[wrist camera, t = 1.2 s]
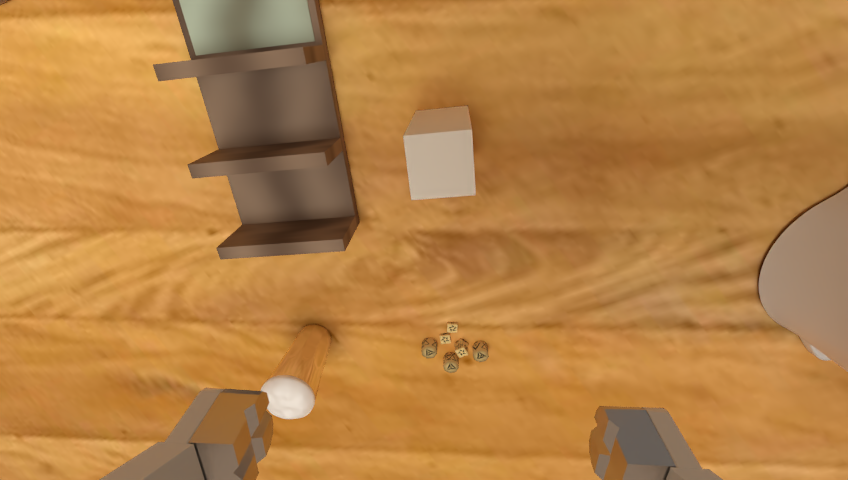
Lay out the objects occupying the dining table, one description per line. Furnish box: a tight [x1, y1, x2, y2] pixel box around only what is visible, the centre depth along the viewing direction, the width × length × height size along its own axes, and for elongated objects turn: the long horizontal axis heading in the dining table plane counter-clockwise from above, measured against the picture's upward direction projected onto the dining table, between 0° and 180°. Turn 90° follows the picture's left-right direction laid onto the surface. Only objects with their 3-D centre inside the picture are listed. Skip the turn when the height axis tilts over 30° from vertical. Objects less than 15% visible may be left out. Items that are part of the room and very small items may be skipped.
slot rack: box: [153, 0, 359, 259], centre depth 31 cm, size 10×21×6 cm, turn 6°
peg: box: [403, 106, 476, 200], centre depth 30 cm, size 4×4×9 cm
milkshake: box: [261, 324, 331, 419], centre depth 39 cm, size 4×5×10 cm
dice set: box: [422, 322, 489, 373], centre depth 43 cm, size 5×5×2 cm
